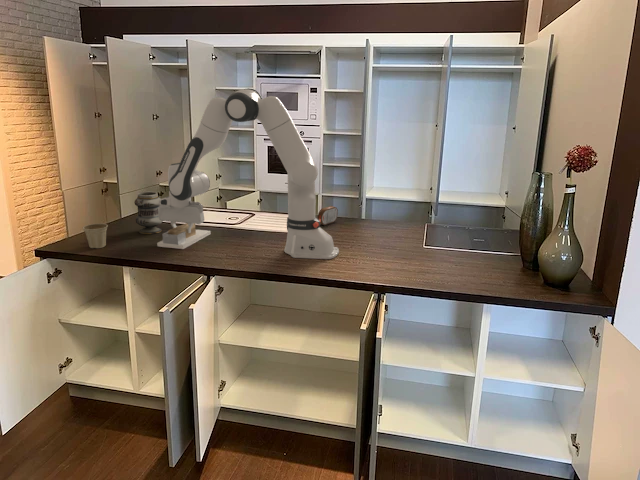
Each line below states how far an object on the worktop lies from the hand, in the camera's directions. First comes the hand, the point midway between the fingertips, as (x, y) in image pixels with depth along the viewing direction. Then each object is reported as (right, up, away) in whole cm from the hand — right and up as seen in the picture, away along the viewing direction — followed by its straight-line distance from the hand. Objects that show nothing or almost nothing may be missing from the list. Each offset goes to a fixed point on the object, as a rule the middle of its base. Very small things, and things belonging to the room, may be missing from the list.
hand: (182, 232), depth 209 cm
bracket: (0, -3, +3) cm, 5 cm away
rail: (0, -2, +1) cm, 3 cm away
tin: (+63, +5, +36) cm, 73 cm away
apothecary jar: (-19, 0, +15) cm, 24 cm away
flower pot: (-33, -6, -8) cm, 34 cm away
